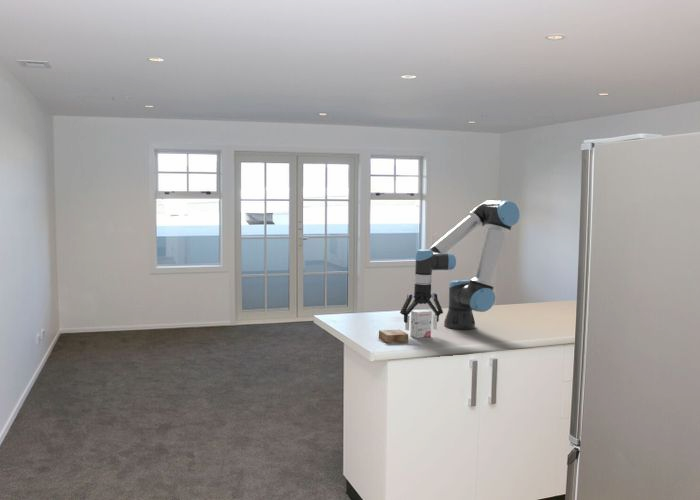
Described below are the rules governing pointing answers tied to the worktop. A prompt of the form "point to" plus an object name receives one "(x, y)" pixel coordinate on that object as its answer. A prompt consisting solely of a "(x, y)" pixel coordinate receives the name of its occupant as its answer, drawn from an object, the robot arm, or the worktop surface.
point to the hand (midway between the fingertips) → (420, 329)
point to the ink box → (421, 323)
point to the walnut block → (393, 336)
